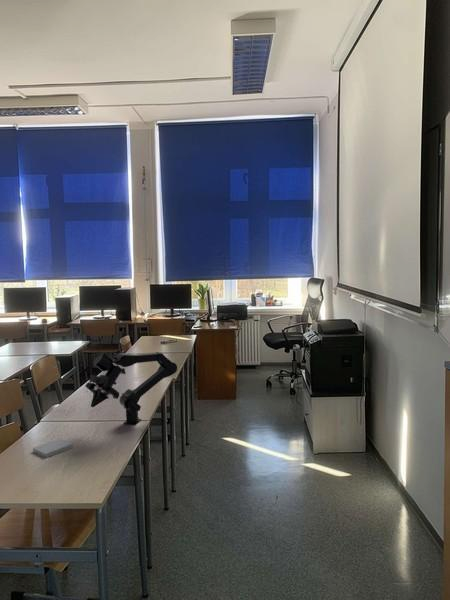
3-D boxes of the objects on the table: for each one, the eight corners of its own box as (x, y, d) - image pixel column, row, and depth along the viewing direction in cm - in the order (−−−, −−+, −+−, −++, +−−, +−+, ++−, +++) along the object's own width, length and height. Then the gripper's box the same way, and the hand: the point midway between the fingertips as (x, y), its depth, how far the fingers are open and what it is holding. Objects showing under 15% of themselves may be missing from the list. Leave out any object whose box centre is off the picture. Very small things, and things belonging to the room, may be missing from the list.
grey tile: (59, 438, 194) (33, 447, 185) (72, 443, 188) (45, 453, 179) (60, 442, 194) (33, 452, 185) (72, 448, 188) (45, 458, 179)
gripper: (87, 365, 209) (67, 394, 202) (112, 370, 198) (92, 401, 190) (102, 377, 216) (84, 406, 208) (127, 383, 204) (109, 414, 197)
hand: (91, 406), depth 201 cm, fingers closed
